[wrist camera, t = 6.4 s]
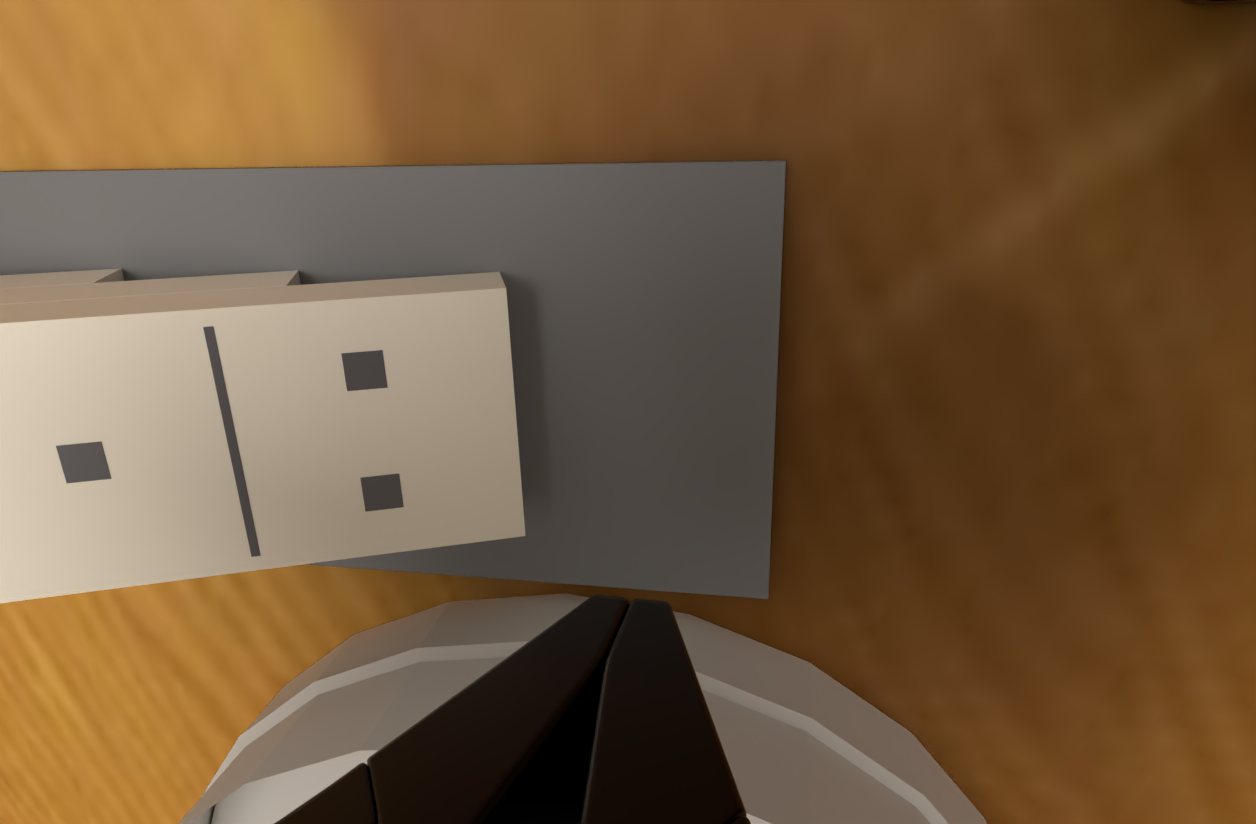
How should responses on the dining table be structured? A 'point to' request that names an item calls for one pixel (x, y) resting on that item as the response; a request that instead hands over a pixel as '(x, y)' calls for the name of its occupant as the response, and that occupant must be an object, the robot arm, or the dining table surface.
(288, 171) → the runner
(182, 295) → the tile
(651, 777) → the robot arm
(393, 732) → the dish
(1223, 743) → the dining table surface
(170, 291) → the tile
